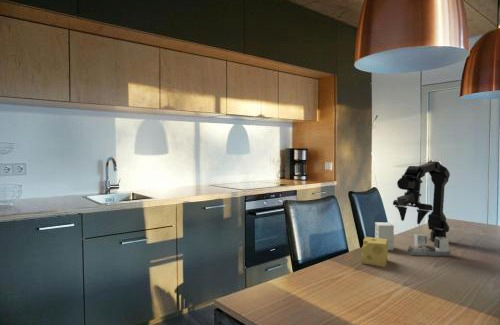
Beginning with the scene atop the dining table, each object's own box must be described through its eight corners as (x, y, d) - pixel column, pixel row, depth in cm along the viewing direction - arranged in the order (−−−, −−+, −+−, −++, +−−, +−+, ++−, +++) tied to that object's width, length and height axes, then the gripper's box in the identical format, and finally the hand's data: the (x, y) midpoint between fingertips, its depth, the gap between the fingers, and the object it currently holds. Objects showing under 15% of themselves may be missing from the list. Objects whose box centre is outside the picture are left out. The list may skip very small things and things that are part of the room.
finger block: (423, 244, 173) (423, 233, 173) (426, 247, 169) (426, 235, 169) (414, 244, 174) (414, 233, 174) (417, 247, 170) (417, 235, 170)
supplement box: (389, 246, 171) (389, 222, 171) (393, 250, 164) (394, 225, 163) (374, 245, 172) (374, 221, 171) (378, 250, 165) (378, 225, 164)
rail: (445, 253, 159) (446, 236, 159) (450, 255, 155) (450, 239, 155) (407, 252, 160) (407, 236, 160) (411, 255, 156) (411, 238, 156)
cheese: (360, 263, 145) (361, 241, 145) (364, 256, 155) (365, 235, 154) (386, 267, 140) (386, 244, 140) (388, 260, 150) (388, 238, 150)
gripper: (386, 187, 169) (383, 218, 168) (418, 191, 152) (415, 224, 151) (402, 190, 173) (399, 219, 173) (434, 193, 156) (431, 226, 156)
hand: (410, 222), depth 163 cm, fingers open, 9 cm apart
